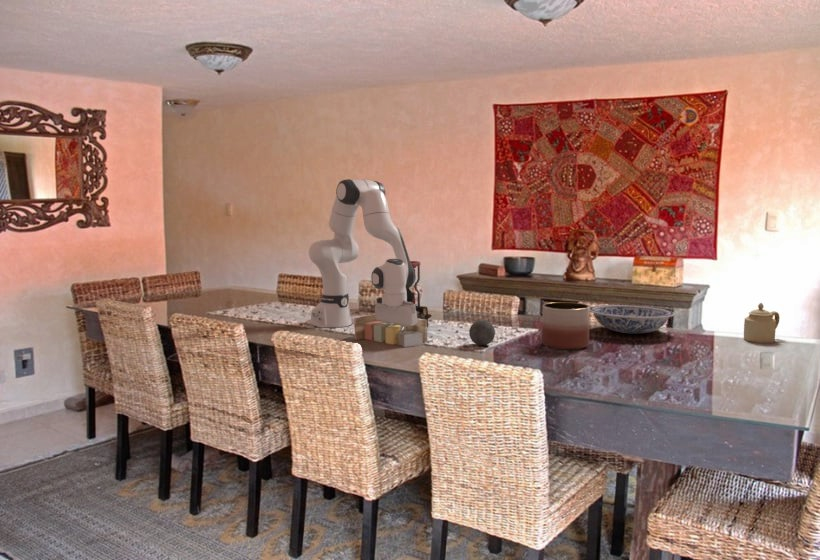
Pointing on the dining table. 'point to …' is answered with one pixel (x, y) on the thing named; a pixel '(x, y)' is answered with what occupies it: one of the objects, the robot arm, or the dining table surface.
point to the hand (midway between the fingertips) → (396, 334)
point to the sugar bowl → (761, 325)
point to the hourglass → (409, 294)
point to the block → (410, 338)
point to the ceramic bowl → (631, 318)
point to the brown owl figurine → (422, 313)
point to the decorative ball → (482, 332)
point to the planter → (565, 325)
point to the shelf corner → (360, 321)
